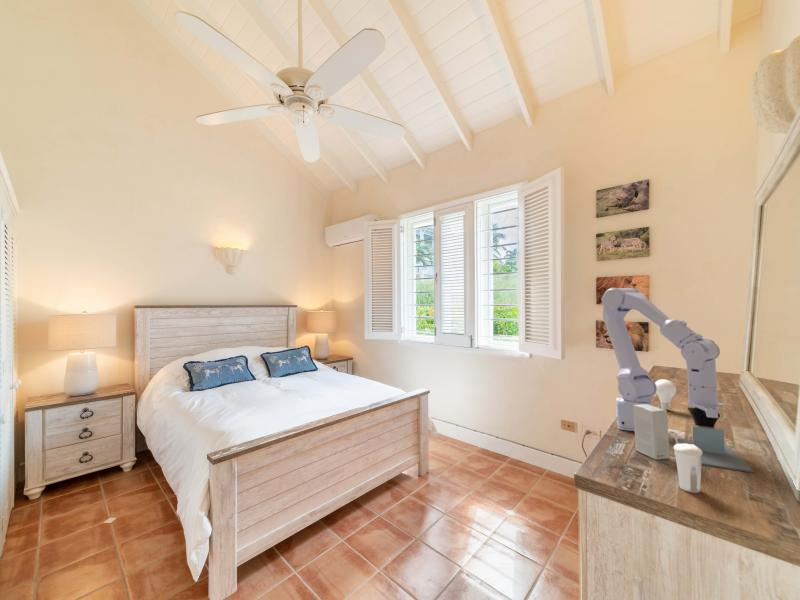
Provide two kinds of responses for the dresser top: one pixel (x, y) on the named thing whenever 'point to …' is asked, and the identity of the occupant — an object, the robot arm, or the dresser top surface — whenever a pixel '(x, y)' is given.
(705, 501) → the dresser top surface
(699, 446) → the tile
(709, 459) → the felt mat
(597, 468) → the dresser top surface
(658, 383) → the lightbulb
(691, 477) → the milkshake
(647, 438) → the skincare box
